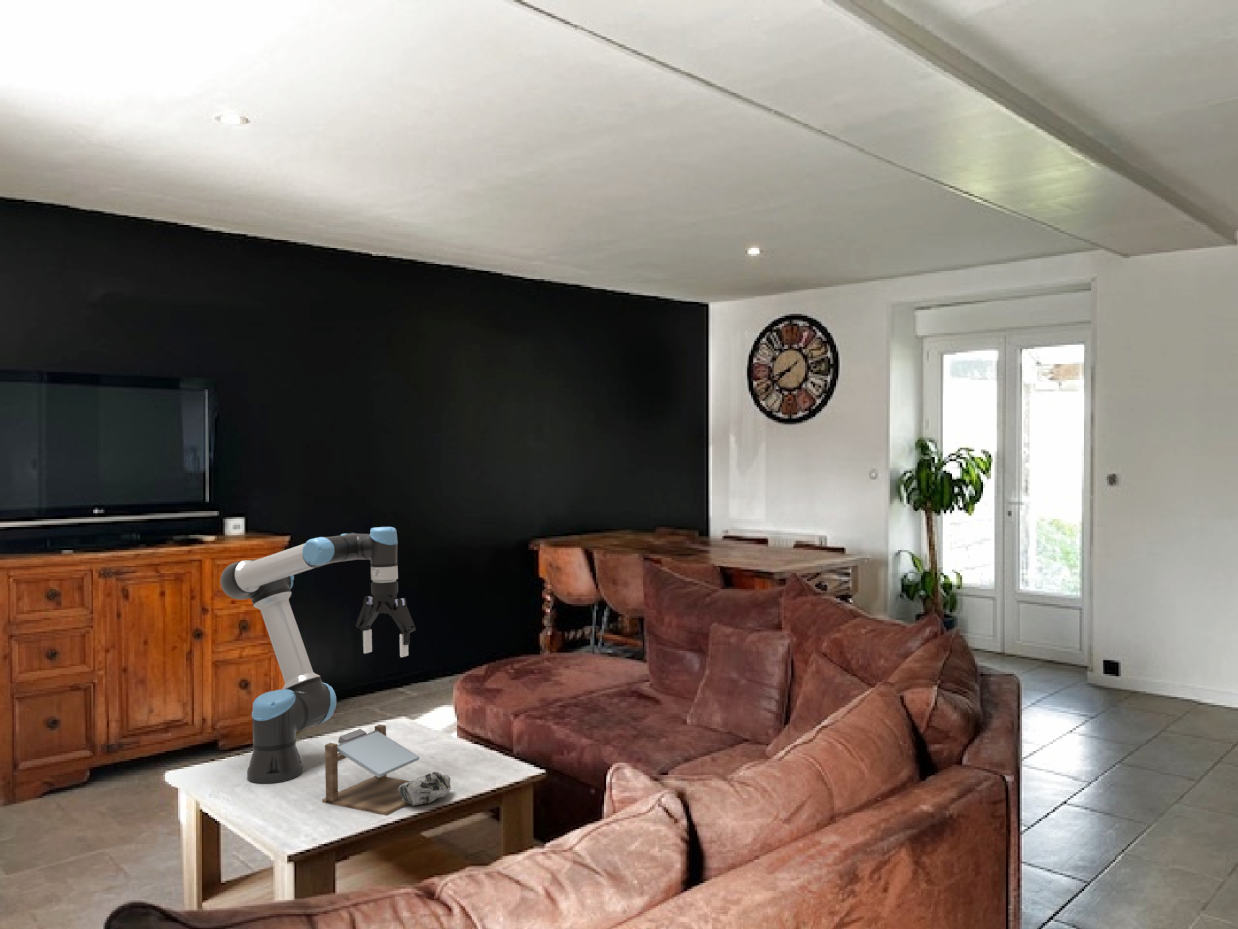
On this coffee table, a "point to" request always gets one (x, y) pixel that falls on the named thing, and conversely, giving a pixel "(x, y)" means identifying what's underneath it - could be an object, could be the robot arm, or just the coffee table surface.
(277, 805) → the coffee table surface
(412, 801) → the rock
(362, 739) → the trapdoor
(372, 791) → the frame
